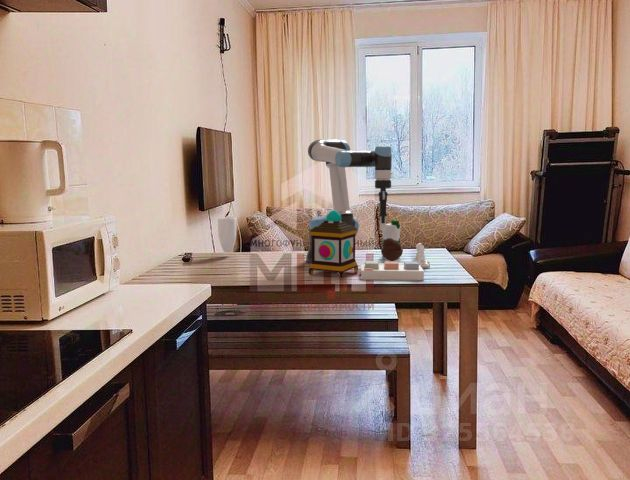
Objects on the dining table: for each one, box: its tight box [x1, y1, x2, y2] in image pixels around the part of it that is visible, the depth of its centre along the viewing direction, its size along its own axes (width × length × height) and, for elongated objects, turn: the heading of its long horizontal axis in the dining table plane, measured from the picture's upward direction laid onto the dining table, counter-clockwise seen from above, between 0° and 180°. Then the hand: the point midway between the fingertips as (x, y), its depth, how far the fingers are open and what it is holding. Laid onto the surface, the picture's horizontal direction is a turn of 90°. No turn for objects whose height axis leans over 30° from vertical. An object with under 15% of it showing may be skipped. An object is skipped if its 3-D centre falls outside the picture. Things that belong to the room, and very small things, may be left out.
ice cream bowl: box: [380, 238, 404, 261], centre depth 277 cm, size 11×11×15 cm
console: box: [360, 264, 425, 281], centre depth 259 cm, size 28×14×5 cm, turn 86°
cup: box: [217, 216, 237, 253], centre depth 313 cm, size 10×10×22 cm
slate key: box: [403, 260, 419, 269], centre depth 259 cm, size 6×6×4 cm
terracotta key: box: [383, 260, 400, 269], centre depth 259 cm, size 6×6×4 cm
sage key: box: [364, 260, 380, 269], centre depth 260 cm, size 6×6×4 cm
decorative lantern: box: [308, 209, 359, 279], centre depth 264 cm, size 20×20×30 cm
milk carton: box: [381, 220, 402, 258], centre depth 310 cm, size 9×9×20 cm
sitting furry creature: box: [412, 242, 431, 269], centre depth 283 cm, size 10×9×12 cm
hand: (382, 230), depth 267 cm, fingers closed
